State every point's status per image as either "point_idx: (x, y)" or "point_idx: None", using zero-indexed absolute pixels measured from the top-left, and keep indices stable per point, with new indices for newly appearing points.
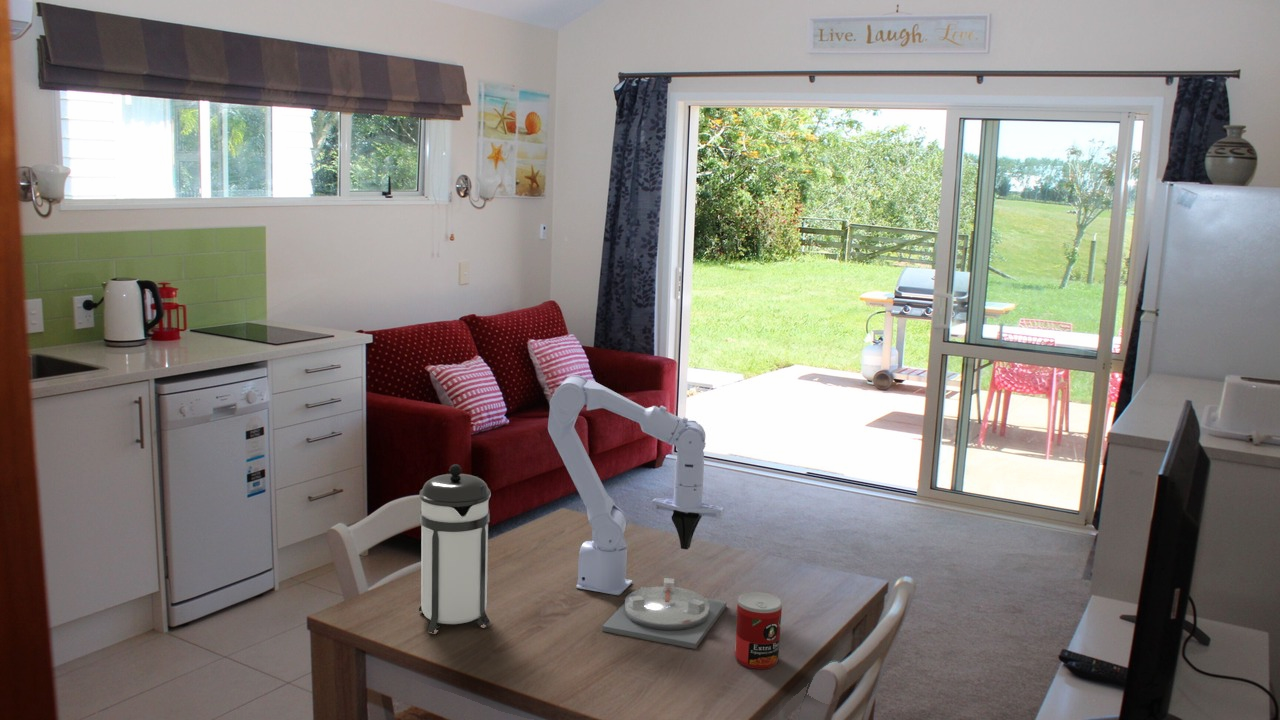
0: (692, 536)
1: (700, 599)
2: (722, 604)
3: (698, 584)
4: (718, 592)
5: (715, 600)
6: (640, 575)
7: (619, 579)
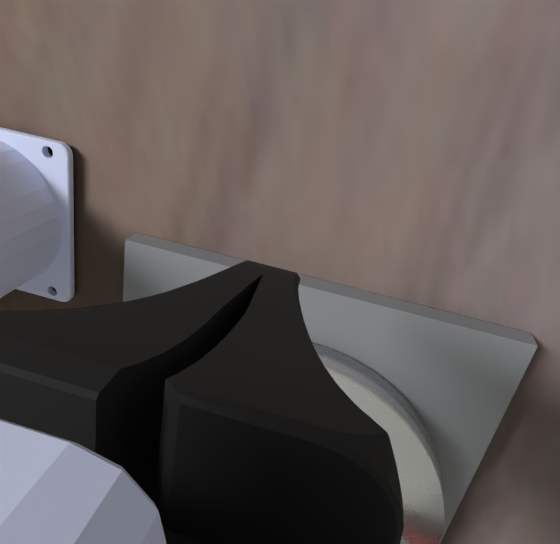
0: (299, 308)
1: (405, 472)
2: (512, 377)
3: (392, 74)
4: (506, 168)
5: (480, 340)
6: (75, 24)
7: (24, 276)
